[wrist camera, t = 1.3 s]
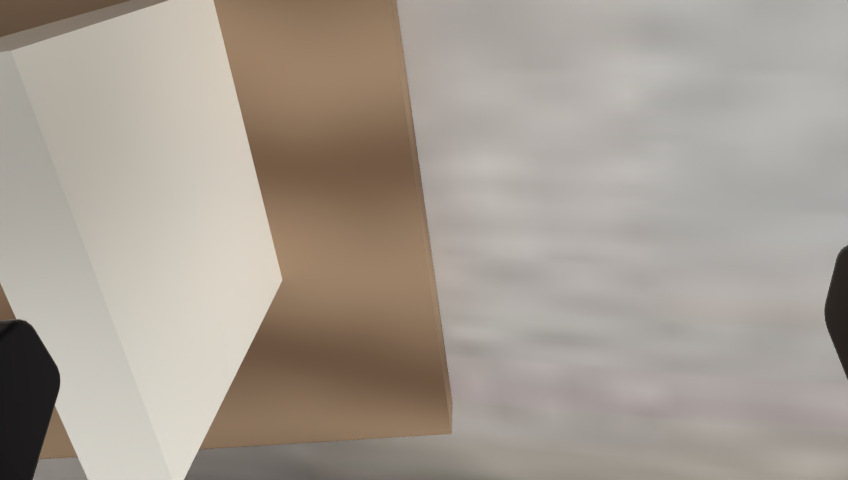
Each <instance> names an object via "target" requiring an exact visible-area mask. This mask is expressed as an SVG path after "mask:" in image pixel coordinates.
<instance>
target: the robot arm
mask: <svg viewBox="0 0 848 480" xmlns="http://www.w3.org/2000/svg"><path fill="white" fill-rule="evenodd" d="M825 321H826V326H827V329H828V332H829V334H830V337H831V339H832V342H833V344H834V347H835V349H836V352H837V354H838V357H839V359H840V362H841V364H842V367H843V369H844V372H845V374H846V377H847V379H848V246H846V247H844V248H843V249H841V251H840V252H839V254H838V257H837V259H836V263H835V267H834V271H833V275H832V279H831V283H830V287H829V291H828V295H827V299H826V303H825ZM60 381H61V380H60V373H59V369H58V367H57V365H56V363H55V362H54V360H53V358H52V357H51V355H50V353H49V352H48V350H47V349H46V347H45V345H44V344H43V342H42V340H41V339H40V337H39V335H38V334H37V332H36V330H35V329H34V328H33V326H32V325H31V324H29V323H28V322H27V321H25V320H21V319H13V320H2V321H0V480H33V476H34V473H35V470H36V466H37V463H38V460H39V456H40V453H41V450H42V446H43V443H44V440H45V436H46V433H47V430H48V426H49V423H50V420H51V416H52V413H53V410H54V406H55V403H56V400H57V396H58V393H59V389H60Z"/></svg>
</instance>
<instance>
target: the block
mask: <svg viewBox="0 0 848 480" xmlns="http://www.w3.org/2000/svg"><path fill="white" fill-rule="evenodd" d="M281 282H282V276H281V272H280V268H279V264H278V260H277V256H276V252H275V248H274V244H273V240H272V236H271V231H270V227H269V223H268V219H267V215H266V211H265V207H264V203H263V199H262V195H261V191H260V187H259V183H258V179H257V175H256V171H255V167H254V163H253V159H252V155H251V150H250V146H249V142H248V138H247V134H246V130H245V126H244V122H243V118H242V114H241V110H240V106H239V102H238V98H237V94H236V90H235V86H234V82H233V78H232V73H231V69H230V65H229V61H228V57H227V53H226V49H225V45H224V41H223V37H222V33H221V29H220V25H219V21H218V17H217V13H216V9H215V5H214V1H213V0H130V1H126V2H123V3H119V4H116V5H112V6H109V7H105V8H102V9H98V10H95V11H91V12H88V13H84V14H81V15H77V16H74V17H70V18H66V19H63V20H59V21H56V22H52V23H49V24H45V25H42V26H38V27H35V28H31V29H28V30H24V31H21V32H17V33H13V34H10V35H6V36H3V37H0V284H1V286H2V288H3V290H4V293H5V295H6V297H7V299H8V301H9V304H10V306H11V308H12V310H13V313H14V315H15V317H16V319H21V320H25V321H27V322H28V323H29V324H31V325H32V326H33V328H34V329H35V330H36V332H37V334H38V335H39V337H40V339H41V340H42V342H43V344H44V345H45V347H46V349H47V350H48V352H49V353H50V355H51V357H52V358H53V360H54V362H55V363H56V365H57V367H58V369H59V373H60V380H61V381H60V389H59V393H58V396H57V400H56V403H55V407H56V409H57V411H58V414H59V416H60V418H61V420H62V423H63V425H64V427H65V429H66V432H67V434H68V436H69V438H70V441H71V443H72V445H73V447H74V450H75V452H76V454H77V456H78V458H79V461H80V463H81V465H82V467H83V470H84V472H85V474H86V476H87V479H88V480H184V478H185V476H186V474H187V472H188V470H189V468H190V466H191V464H192V462H193V460H194V458H195V456H196V454H197V452H198V450H199V448H200V446H201V444H202V442H203V440H204V438H205V436H206V434H207V432H208V430H209V428H210V426H211V424H212V422H213V420H214V418H215V416H216V414H217V412H218V410H219V408H220V406H221V404H222V402H223V399H224V397H225V395H226V393H227V391H228V389H229V387H230V385H231V383H232V381H233V379H234V377H235V375H236V373H237V371H238V369H239V367H240V365H241V363H242V361H243V359H244V357H245V355H246V353H247V351H248V349H249V347H250V345H251V343H252V341H253V339H254V337H255V335H256V333H257V331H258V329H259V327H260V325H261V323H262V321H263V319H264V317H265V315H266V313H267V311H268V308H269V306H270V304H271V302H272V300H273V298H274V296H275V294H276V292H277V290H278V288H279V286H280V284H281Z"/></svg>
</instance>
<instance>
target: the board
mask: <svg viewBox="0 0 848 480" xmlns="http://www.w3.org/2000/svg"><path fill="white" fill-rule="evenodd" d="M126 1H130V0H0V37H3V36H6V35H10V34H13V33H17V32H21V31H24V30H28V29H31V28H35V27H38V26H42V25H45V24H49V23H52V22H56V21H59V20H63V19H66V18H70V17H74V16H77V15H81V14H84V13H88V12H91V11H95V10H98V9H102V8H105V7H109V6H112V5H116V4H119V3H123V2H126ZM213 1H214V5H215V9H216V13H217V17H218V21H219V25H220V29H221V33H222V37H223V41H224V45H225V49H226V53H227V57H228V61H229V65H230V69H231V73H232V78H233V82H234V86H235V90H236V94H237V98H238V102H239V106H240V110H241V114H242V118H243V122H244V126H245V130H246V134H247V138H248V142H249V146H250V150H251V155H252V159H253V163H254V167H255V171H256V175H257V179H258V183H259V187H260V191H261V195H262V199H263V203H264V207H265V211H266V215H267V219H268V223H269V227H270V231H271V236H272V240H273V244H274V248H275V252H276V256H277V260H278V264H279V268H280V272H281V276H282V282H281V284H280V286H279V288H278V290H277V292H276V294H275V296H274V298H273V300H272V302H271V304H270V306H269V308H268V311H267V313H266V315H265V317H264V319H263V321H262V323H261V325H260V327H259V329H258V331H257V333H256V335H255V337H254V339H253V341H252V343H251V345H250V347H249V349H248V351H247V353H246V355H245V357H244V359H243V361H242V363H241V365H240V367H239V369H238V371H237V373H236V375H235V377H234V379H233V381H232V383H231V385H230V387H229V389H228V391H227V393H226V395H225V397H224V399H223V402H222V404H221V406H220V408H219V410H218V412H217V414H216V416H215V418H214V420H213V422H212V424H211V426H210V428H209V430H208V432H207V434H206V436H205V438H204V440H203V442H202V444H201V446H200V448H199V449H213V448H229V447H245V446H262V445H278V444H294V443H310V442H326V441H342V440H359V439H375V438H391V437H407V436H423V435H440V434H451V432H452V397H451V390H450V383H449V375H448V368H447V361H446V354H445V347H444V340H443V332H442V325H441V318H440V311H439V304H438V297H437V289H436V282H435V275H434V268H433V261H432V254H431V246H430V239H429V232H428V225H427V218H426V211H425V204H424V196H423V189H422V182H421V175H420V168H419V161H418V153H417V146H416V139H415V132H414V125H413V118H412V110H411V103H410V96H409V89H408V82H407V75H406V67H405V60H404V53H403V46H402V39H401V32H400V25H399V17H398V10H397V3H396V0H213ZM13 319H16V317H15V315H14V313H13V310H12V308H11V306H10V304H9V301H8V299H7V297H6V295H5V293H4V290H3V288H2V286H1V284H0V321H2V320H13ZM67 457H78V456H77V454H76V452H75V450H74V447H73V445H72V443H71V441H70V438H69V436H68V434H67V432H66V429H65V427H64V425H63V423H62V420H61V418H60V416H59V414H58V411H57V409H56V407H55V406H54V410H53V413H52V416H51V420H50V423H49V426H48V430H47V433H46V436H45V440H44V443H43V446H42V450H41V453H40V456H39V459H51V458H67Z"/></svg>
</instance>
